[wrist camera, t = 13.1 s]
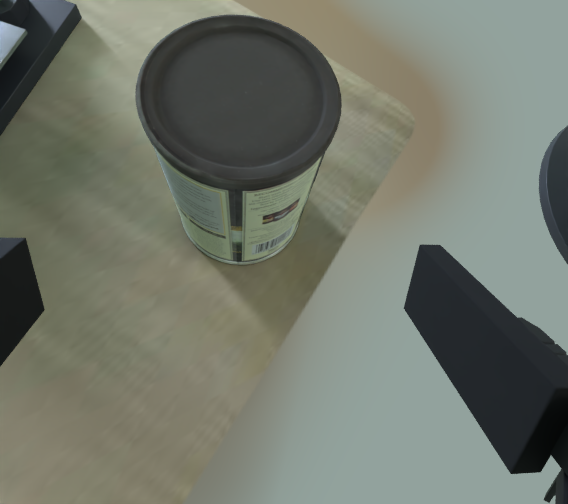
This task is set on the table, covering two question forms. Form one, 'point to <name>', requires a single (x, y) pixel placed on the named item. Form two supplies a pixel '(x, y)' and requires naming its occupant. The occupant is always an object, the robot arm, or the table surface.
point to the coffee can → (238, 129)
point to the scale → (32, 47)
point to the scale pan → (9, 40)
